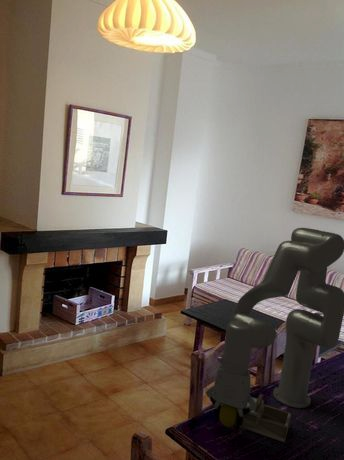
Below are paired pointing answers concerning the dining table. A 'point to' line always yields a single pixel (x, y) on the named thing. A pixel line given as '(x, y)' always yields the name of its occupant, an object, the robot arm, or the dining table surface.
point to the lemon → (228, 415)
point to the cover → (259, 405)
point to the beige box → (268, 422)
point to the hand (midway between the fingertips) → (227, 422)
